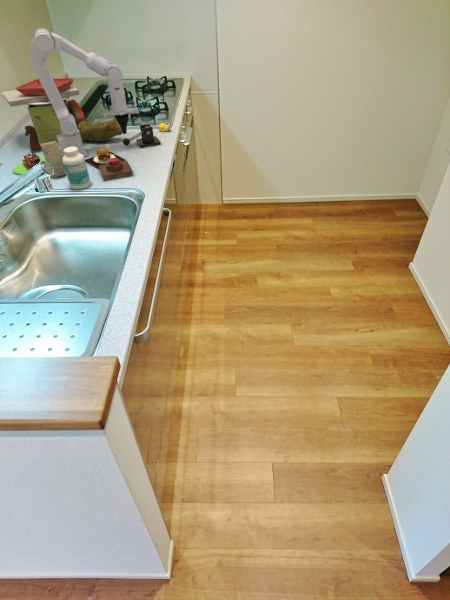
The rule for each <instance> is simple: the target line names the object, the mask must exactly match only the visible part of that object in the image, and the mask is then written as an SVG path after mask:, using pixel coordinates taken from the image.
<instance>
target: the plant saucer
mask: <svg viewBox="0 0 450 600" xmlns="http://www.w3.org/2000/svg"><path fill="white" fill-rule="evenodd" d="M53 80H54V82H55V84H56V86H57V89H58V91H59V92H61V91H63V90H65V89H67V88H69V87H70V86H71V85H72V84H73V82H74V80H75V78H74V77H72V78H70V77H69V78H67V77H66V78H53ZM14 90H18V91H19V92H20V93H22V94H23V95H47V94H46V92H45V90H44V88H43V86H42V84H41V82H40V80H39V78H36V79H33V80H31V81H28V82H26V83H24V84H21V85H19V86H16V87H15V89H14Z"/></svg>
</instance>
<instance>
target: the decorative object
mask: <svg viewBox="0 0 450 600" xmlns="http://www.w3.org/2000/svg"><path fill="white" fill-rule="evenodd" d="M67 103H68V107H69V111H70V113H71V114H72V115H73V116H74V118H75V120H76V125H77V126H78V124H79V123H80V122H81V121H82V120H84V121H86V117H85V113H84V111H83V110H82V109H83V108H82V109H81V108H80V106H79V105H78V103H79V102H77V101H76V99H69V100H67Z"/></svg>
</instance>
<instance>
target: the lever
mask: <svg viewBox="0 0 450 600" xmlns="http://www.w3.org/2000/svg"><path fill="white" fill-rule="evenodd" d="M146 127H148V126H146ZM146 127H144V128H146ZM141 135H143V133H142V132H141V131H140V132H138V133H136V134H134V135H133V136H131V137H129V138H127V137H125V138H123V140H122V144H123V145H124V146H126V147H127V146H130V144H131V142H132V141H134V140H136V139H139V137H141Z"/></svg>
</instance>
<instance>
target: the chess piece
mask: <svg viewBox="0 0 450 600" xmlns="http://www.w3.org/2000/svg"><path fill="white" fill-rule="evenodd" d="M24 129H25V133H24V135H25V137H29V139H28V140H29V147H30V148H29V149H30V152H31V153H35V152H39V151H42V148H41V144H39V141H38V136H37V132H36V130H35V128H34V126H33V125H25V126H24Z"/></svg>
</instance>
